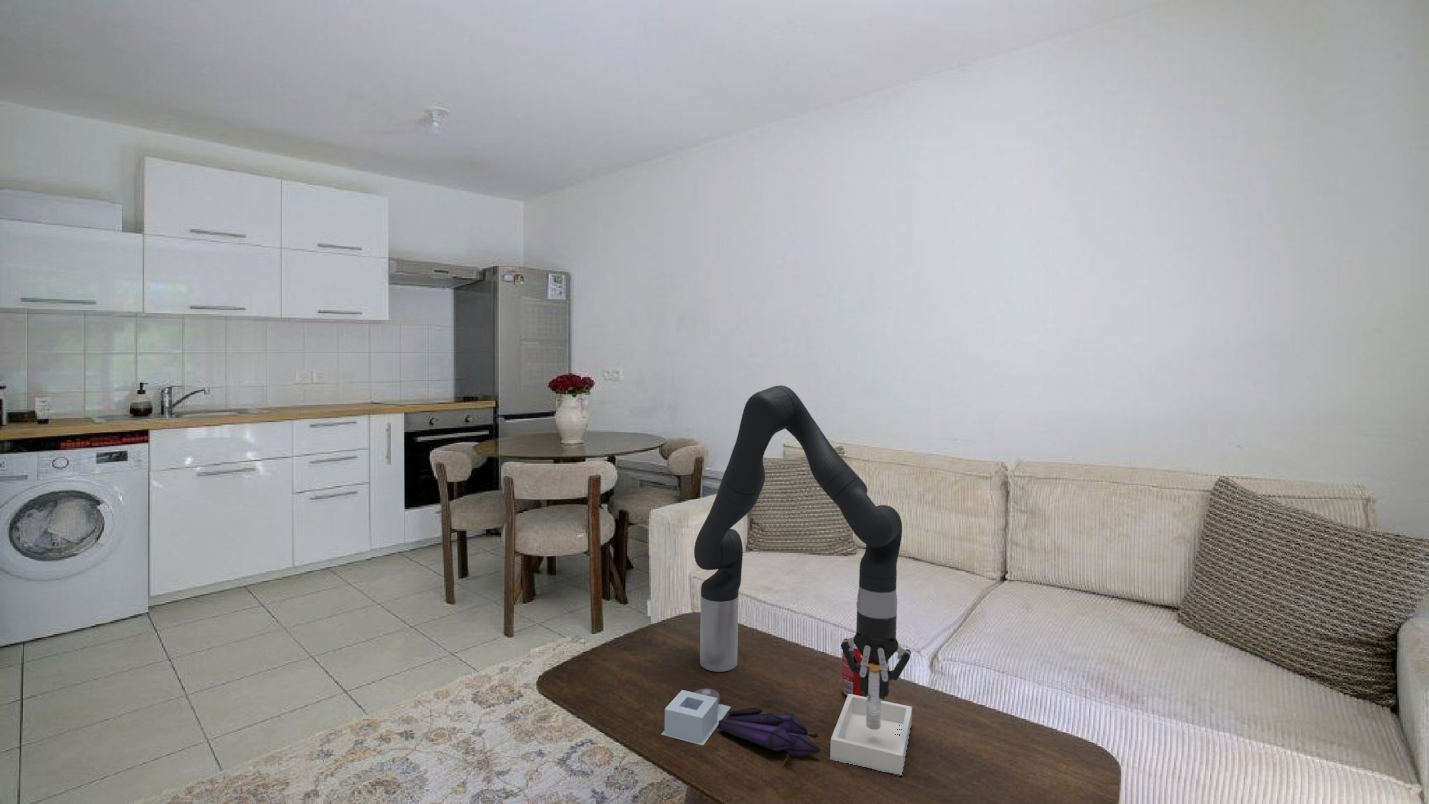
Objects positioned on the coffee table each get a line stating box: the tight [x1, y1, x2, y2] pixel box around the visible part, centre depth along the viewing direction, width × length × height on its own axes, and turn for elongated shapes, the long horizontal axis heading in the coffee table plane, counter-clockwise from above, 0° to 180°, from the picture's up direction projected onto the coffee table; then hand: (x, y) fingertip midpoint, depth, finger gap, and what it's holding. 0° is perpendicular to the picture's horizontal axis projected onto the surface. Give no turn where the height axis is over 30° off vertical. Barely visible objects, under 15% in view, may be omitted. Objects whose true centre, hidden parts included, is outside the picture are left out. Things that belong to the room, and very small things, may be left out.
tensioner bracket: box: [661, 688, 732, 746], centre depth 131 cm, size 15×9×6 cm, turn 158°
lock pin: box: [866, 661, 883, 730], centre depth 126 cm, size 4×4×13 cm
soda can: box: [840, 636, 867, 697], centre depth 144 cm, size 7×7×12 cm
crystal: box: [717, 706, 821, 758], centre depth 125 cm, size 7×12×20 cm
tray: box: [829, 694, 913, 776], centre depth 126 cm, size 18×13×4 cm
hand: (874, 695), depth 126 cm, fingers closed on lock pin, 2 cm apart
